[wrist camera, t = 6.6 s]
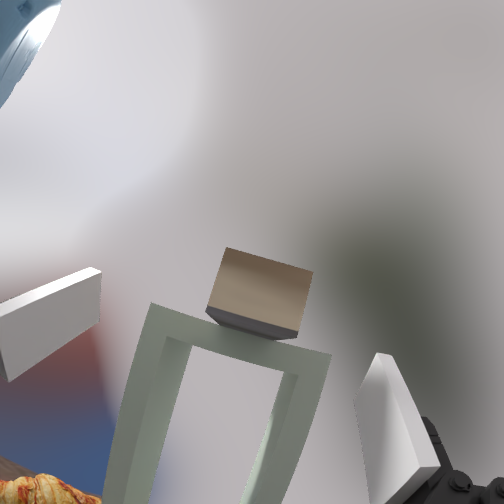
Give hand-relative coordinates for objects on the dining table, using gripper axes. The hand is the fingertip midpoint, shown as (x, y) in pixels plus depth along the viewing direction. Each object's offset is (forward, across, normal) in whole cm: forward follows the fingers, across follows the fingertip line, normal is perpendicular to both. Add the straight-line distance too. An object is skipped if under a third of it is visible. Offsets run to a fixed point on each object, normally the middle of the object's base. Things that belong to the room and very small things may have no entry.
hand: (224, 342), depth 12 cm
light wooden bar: (+10, 0, +5) cm, 12 cm away
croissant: (-4, +18, +37) cm, 41 cm away
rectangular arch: (-5, 0, +35) cm, 36 cm away
